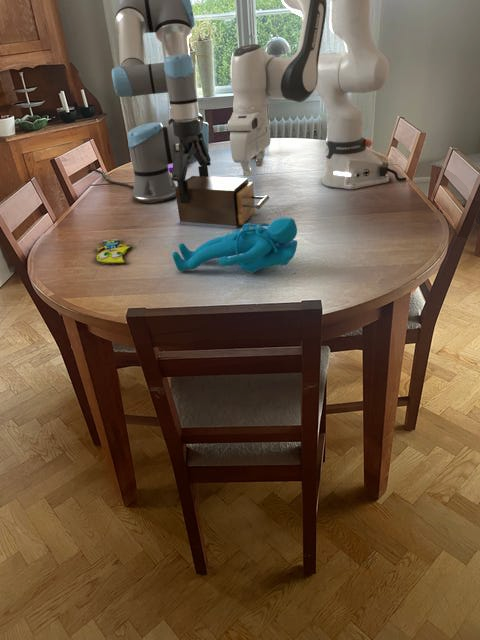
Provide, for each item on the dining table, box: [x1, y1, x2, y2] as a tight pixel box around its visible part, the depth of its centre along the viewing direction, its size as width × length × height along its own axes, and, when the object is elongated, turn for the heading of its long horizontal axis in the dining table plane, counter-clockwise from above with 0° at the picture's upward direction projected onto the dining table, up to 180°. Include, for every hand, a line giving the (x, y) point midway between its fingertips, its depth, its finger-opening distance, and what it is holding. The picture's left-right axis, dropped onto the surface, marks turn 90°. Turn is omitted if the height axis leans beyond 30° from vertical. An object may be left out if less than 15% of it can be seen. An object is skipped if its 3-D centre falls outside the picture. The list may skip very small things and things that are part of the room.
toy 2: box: [171, 217, 298, 274], centre depth 113 cm, size 17×11×30 cm
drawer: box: [235, 181, 270, 226], centre depth 140 cm, size 22×10×9 cm, turn 68°
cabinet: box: [175, 175, 249, 229], centre depth 142 cm, size 18×11×11 cm, turn 68°
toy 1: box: [95, 238, 133, 265], centre depth 129 cm, size 10×1×15 cm
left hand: (195, 195), depth 143 cm, fingers open, 13 cm apart
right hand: (253, 170), depth 132 cm, fingers open, 8 cm apart
